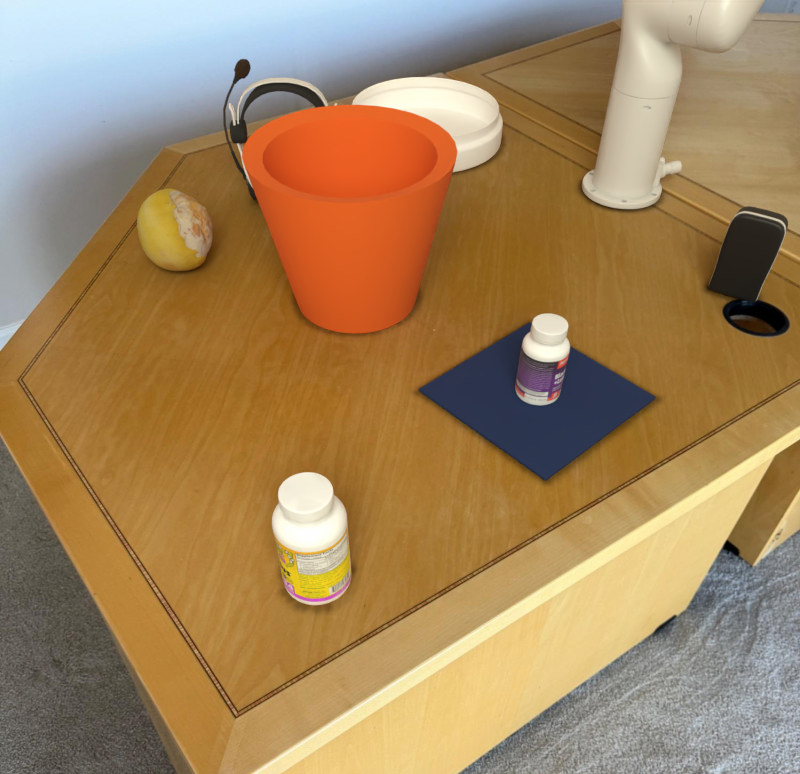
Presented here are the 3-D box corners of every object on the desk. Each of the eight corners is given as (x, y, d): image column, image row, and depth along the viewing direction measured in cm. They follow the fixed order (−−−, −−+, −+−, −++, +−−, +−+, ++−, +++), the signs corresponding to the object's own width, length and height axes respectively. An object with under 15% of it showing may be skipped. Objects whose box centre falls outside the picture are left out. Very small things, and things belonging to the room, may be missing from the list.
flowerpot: (484, 315, 101) (500, 166, 86) (319, 379, 93) (304, 226, 78) (386, 231, 115) (385, 89, 99) (234, 280, 106) (207, 133, 91)
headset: (232, 212, 118) (208, 70, 103) (238, 187, 123) (216, 48, 108) (343, 211, 118) (335, 70, 103) (344, 187, 123) (337, 48, 108)
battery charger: (762, 291, 105) (796, 212, 97) (755, 305, 103) (789, 226, 94) (712, 277, 108) (740, 198, 99) (704, 290, 105) (733, 211, 97)
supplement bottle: (283, 555, 76) (267, 464, 66) (350, 550, 76) (343, 460, 66) (283, 611, 72) (264, 523, 62) (353, 606, 72) (346, 518, 62)
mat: (529, 324, 100) (529, 322, 100) (655, 399, 91) (655, 396, 91) (418, 391, 92) (418, 388, 91) (545, 481, 82) (546, 478, 82)
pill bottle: (558, 410, 89) (573, 341, 82) (512, 403, 90) (523, 334, 82) (561, 380, 92) (576, 312, 85) (517, 374, 93) (528, 306, 86)
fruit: (159, 292, 104) (141, 223, 97) (138, 254, 110) (119, 186, 103) (230, 274, 107) (218, 205, 100) (206, 238, 113) (192, 170, 106)
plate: (532, 149, 132) (536, 115, 128) (404, 190, 123) (405, 156, 119) (440, 95, 146) (442, 64, 142) (319, 129, 137) (317, 96, 133)
